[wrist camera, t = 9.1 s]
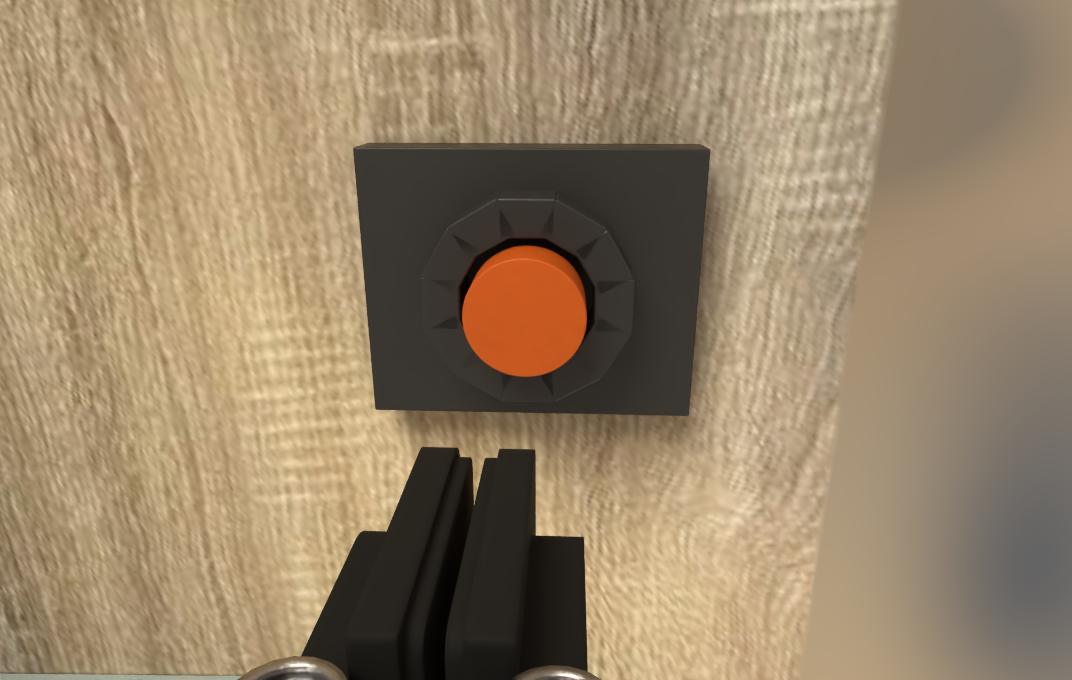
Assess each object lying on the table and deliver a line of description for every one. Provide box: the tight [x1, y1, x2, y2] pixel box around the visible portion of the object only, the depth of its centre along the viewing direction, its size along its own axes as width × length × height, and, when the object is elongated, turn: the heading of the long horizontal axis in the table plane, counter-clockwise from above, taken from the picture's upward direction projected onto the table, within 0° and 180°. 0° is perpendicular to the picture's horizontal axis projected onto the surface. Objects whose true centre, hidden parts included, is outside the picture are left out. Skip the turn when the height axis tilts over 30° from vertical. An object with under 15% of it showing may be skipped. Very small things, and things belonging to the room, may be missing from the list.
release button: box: [462, 245, 587, 377], centre depth 21 cm, size 4×4×2 cm
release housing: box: [353, 143, 710, 416], centre depth 23 cm, size 11×9×4 cm
